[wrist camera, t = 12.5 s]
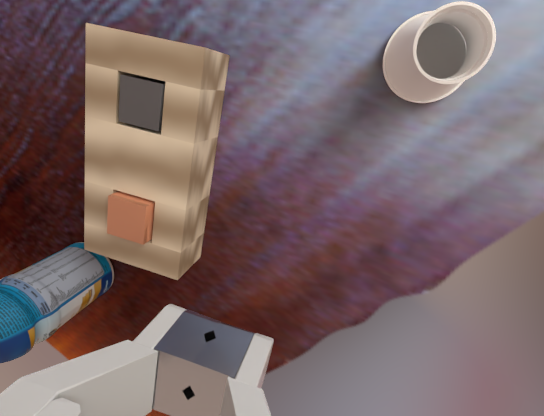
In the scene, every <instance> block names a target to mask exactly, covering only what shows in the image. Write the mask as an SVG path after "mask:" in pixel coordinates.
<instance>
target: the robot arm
mask: <svg viewBox="0 0 544 416" xmlns="http://www.w3.org/2000/svg"><path fill="white" fill-rule="evenodd" d="M273 341H274V339H273V338H270V337H267V336H264V335H261V334H258V333H253V332H250V331H247V330H244V329H241V328H238V327H235V326H232V325H229V324H226V323H223V322H220V321H217V320H215V319H212V318H209V317H207V316H204V315H201V314H198V313H196V312H193V311H190V310H188V309H187V310H186V309H184V308H181V307H178V306H176V305H173V304H169V305H167V306H165V307H164V308H163V309H162V310H161V312H160V313H159V314H158V315H157V316H156V317H155V318H154V319H153V320H152V321H151V322H150V323H149V324H148V325H147V327H146V328H145V329H144V330H143V331H142V332H141V333H140V334H139V335H138V336H137V337H136V338H135V339H134V341H133V342H132V341H129V340H125V341H123V342H120V343H117V344H114V345H111V346H108V347H106V348H103V349H100V350H97V351H94V352H91V353H89V354H86V355H83V356H80V357H77V358H74V359H72V360H69V361H66V362H63V363H60V364H57V365H55V366H52V367H49V368H46V369H43V370H40V371H38V372H35V373H32V374H29V375H26V376H23V377H21V378H19V379H18V380H17V381H15V382H14V383H13V384H12V385H10V386H9V387H8V388H7V389H6V390H5V391H3V392H2V393H1V394H0V416H145V415H147V414H148V413H150V412H151V411H152V409H154V410H157V411H160V412H162V413H165V414H168V415H171V416H271V413H270V410H269V407H268V404H267V401H266V398H265V395H264V392H263V389H261V387H262V384H263V380H264V377H265V373H266V369H267V365H268V362H269V358H270V354H271V350H272V346H273Z"/></svg>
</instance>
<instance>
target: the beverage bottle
mask: <svg viewBox="0 0 544 416" xmlns="http://www.w3.org/2000/svg"><path fill="white" fill-rule="evenodd" d="M113 280H114V270H113V266H112V264H111V261H110V260H109V258H108V257H105V256H102V255H99V254H96V253H93V252H90V251H87V250H84V242H78V243H74V244H71V245H70V246H68V247H66V248H64V249H63V250H61V251H59V252H57V253H55V254H53V255H51V256H49V257H47V258H45V259H43V260H41V261H39V262H37V263H35V264H33V265H31V266H29V267H27V268H25V269H23V270H21V271H19V272H17V273H15V274H12V275H9V276H6V277H4V278H2V279H1V280H0V363H4V362H8V361H11V360H14V359H16V358H18V357H21V356H23V355H25V354H26V353H28V352H29V351H30V350H31V349H32V348H33V346H34V344H36V343H40V342H42V341H44V340H46V339H47V338H49V337H50V336H51V335H53V334H54V333H55V332H56V330H57V329H58V328H59V327H61V326H62V325H63V324H64V323H66V322H67V321H68V320H70V319H71V318H72V317H73V316H75V315H76V314H77V313H79V312H80V311H81V310H82V309H84V308H85V307H86V306H88V305H89V304H90V303H91V302H93V301H94V300H95V299H97V298H98V297H99V296H101V295H102V294H104V293H105V292H106V291H108V290H109V288H110V287H111V286H112V283H113Z"/></svg>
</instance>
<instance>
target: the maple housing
mask: <svg viewBox="0 0 544 416" xmlns="http://www.w3.org/2000/svg"><path fill="white" fill-rule="evenodd" d="M229 56H230V55H227V54H223V53H220V52H217V51H214V50H211V49H208V48H204V47H200V46H195V45H190V44H185V43H180V42H176V41H171V40H166V39H161V38H156V37H152V36H147V35H142V34H137V33H133V32H128V31H123V30H118V29H113V28H109V27H104V26H99V25H94V24H89V23H86V71H85V216H84V250H87V251H90V252H93V253H96V254H99V255H102V256H105V257H108V258H111V259H115V260H118V261H121V262H124V263H127V264H130V265H133V266H136V267H139V268H142V269H145V270H148V271H151V272H154V273H157V274H160V275H163V276H166V277H169V278H172V279H175V280H178V279H179V278H180V277H181V276H182V275H183V274H184V273H185V272H186V271H187V270H188V269H189V268H190V267H191V266H192V265H193V264H194V263H195V262H196V261H197V260H198V259H199V258H200V257H201V250H202V243H203V236H204V229H205V222H206V215H207V208H208V202H209V195H210V188H211V181H212V174H213V167H214V160H215V153H216V146H217V139H218V132H219V125H220V118H221V112H222V105H223V98H224V91H225V84H226V77H227V70H228V63H229ZM120 74H121V75H131V76H142V77H148V78H153V79H157V80H161V81H165V93H164V105H163V116H162V128H161V131H155V130H151V129H147V128H143V127H139V126H135V125H131V124H128V123H124V122H120V121H119V98H120ZM118 191H121V192H124V193H127V194H131V195H134V196H138V197H141V198H145V199H148V200H151V201H155V210H154V222H153V233H152V239H151V240H149V241H148V242H147V243H145V244H144V245H142V244H139V243H136V242H133V241H130V240H127V239H123V238H120V237H117V236H114V235H111V234H108V233H107V216H108V195H111V194H113V193H116V192H118Z"/></svg>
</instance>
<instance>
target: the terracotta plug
mask: <svg viewBox="0 0 544 416" xmlns="http://www.w3.org/2000/svg"><path fill="white" fill-rule="evenodd" d="M154 210H155V201H151V200H148V199H145V198H141V197H138V196H134V195H131V194H127V193H124V192H121V191H118V192H116V193H113V194H111V195H108V216H107V233H108V234H111V235H114V236H117V237H120V238H123V239H127V240H130V241H133V242H136V243H139V244H142V245H144V244H145V243H147V242H148V241H149V240H151V239H152V233H153V222H154Z"/></svg>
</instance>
